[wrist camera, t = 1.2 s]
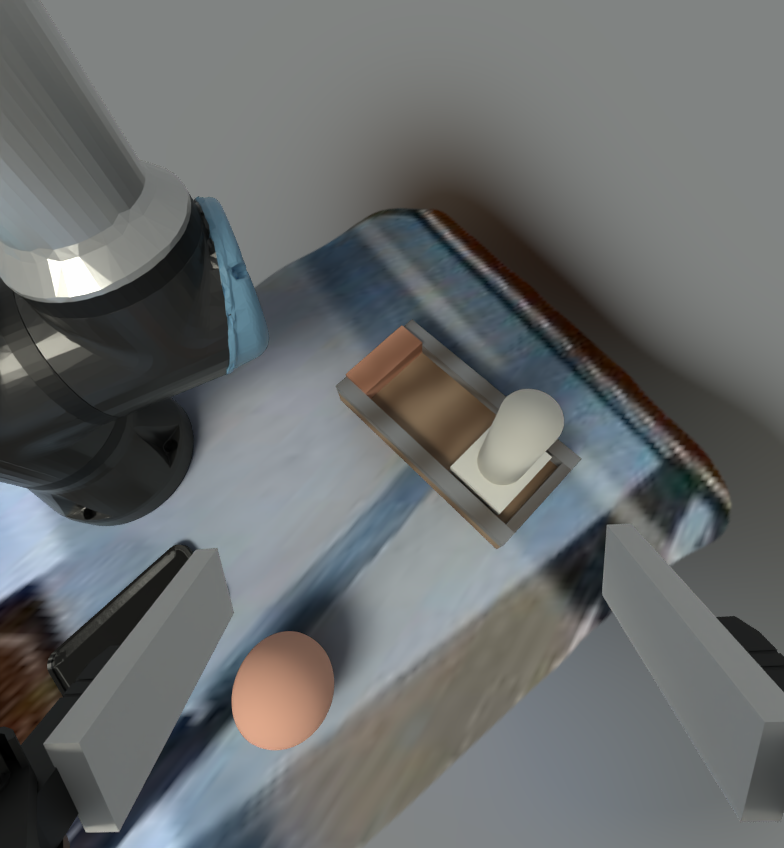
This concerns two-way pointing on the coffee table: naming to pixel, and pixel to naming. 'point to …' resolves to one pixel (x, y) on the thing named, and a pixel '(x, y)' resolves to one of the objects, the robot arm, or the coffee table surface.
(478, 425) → the track
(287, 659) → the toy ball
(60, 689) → the phone
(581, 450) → the coffee table surface
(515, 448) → the disc
